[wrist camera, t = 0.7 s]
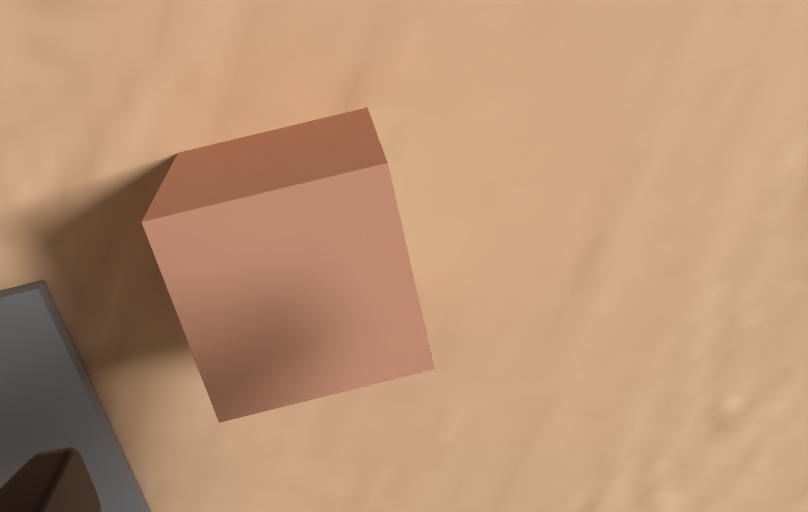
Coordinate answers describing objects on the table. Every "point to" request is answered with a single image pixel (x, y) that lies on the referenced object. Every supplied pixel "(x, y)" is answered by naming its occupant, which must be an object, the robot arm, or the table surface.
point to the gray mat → (54, 399)
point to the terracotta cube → (289, 265)
